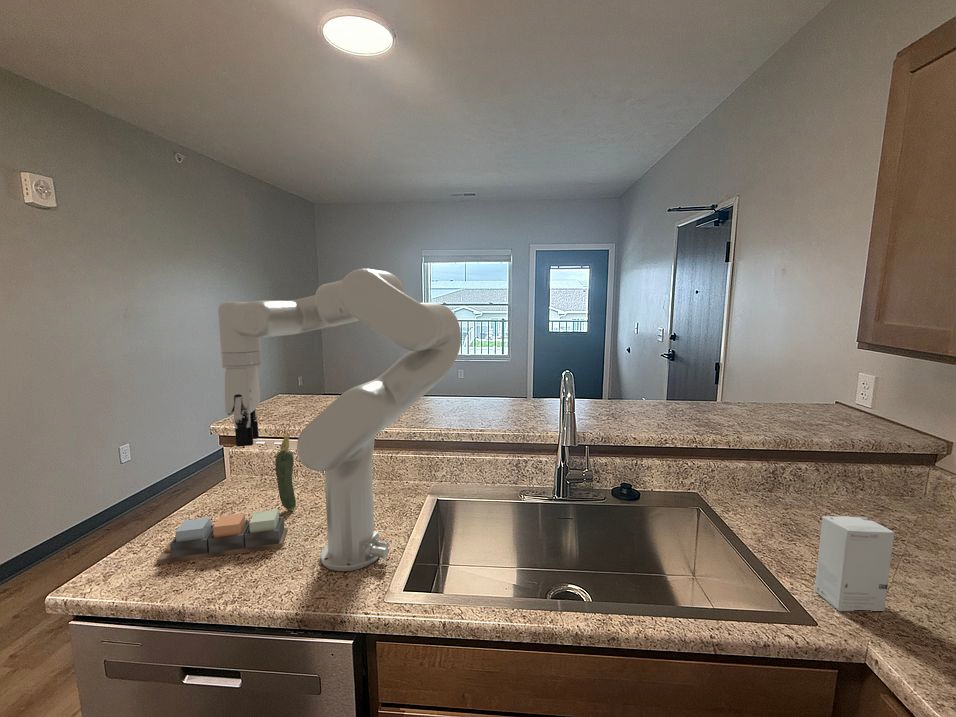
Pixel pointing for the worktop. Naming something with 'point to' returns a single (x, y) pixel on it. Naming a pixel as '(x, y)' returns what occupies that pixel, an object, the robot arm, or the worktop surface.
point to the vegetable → (285, 475)
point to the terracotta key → (229, 525)
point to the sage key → (264, 521)
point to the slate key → (193, 529)
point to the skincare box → (854, 563)
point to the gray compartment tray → (224, 544)
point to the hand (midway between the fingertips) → (247, 441)
